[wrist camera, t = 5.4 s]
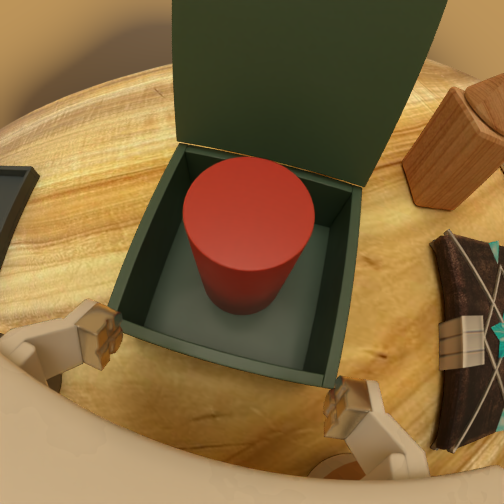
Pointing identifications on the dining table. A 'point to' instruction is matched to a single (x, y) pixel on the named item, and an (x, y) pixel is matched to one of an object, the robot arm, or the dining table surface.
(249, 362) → the chest
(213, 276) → the red cylinder
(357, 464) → the coffee cup
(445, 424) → the book
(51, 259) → the dining table surface
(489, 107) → the decorative item
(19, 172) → the tray
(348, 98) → the chest lid
